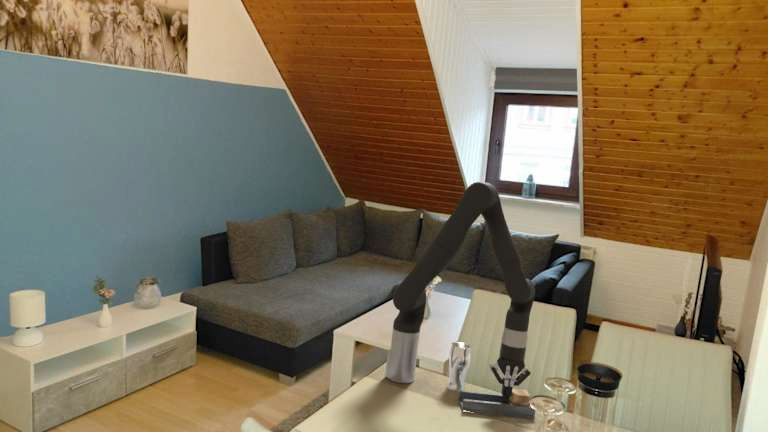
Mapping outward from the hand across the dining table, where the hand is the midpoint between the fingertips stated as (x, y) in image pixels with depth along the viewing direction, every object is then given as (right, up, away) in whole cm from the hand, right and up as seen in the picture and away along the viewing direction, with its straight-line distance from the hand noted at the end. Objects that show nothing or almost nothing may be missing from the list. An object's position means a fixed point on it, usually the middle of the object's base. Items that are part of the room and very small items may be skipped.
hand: (506, 397), depth 169 cm
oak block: (+4, -4, +1) cm, 5 cm away
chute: (-3, -4, 0) cm, 5 cm away
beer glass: (-14, -2, +15) cm, 20 cm away
